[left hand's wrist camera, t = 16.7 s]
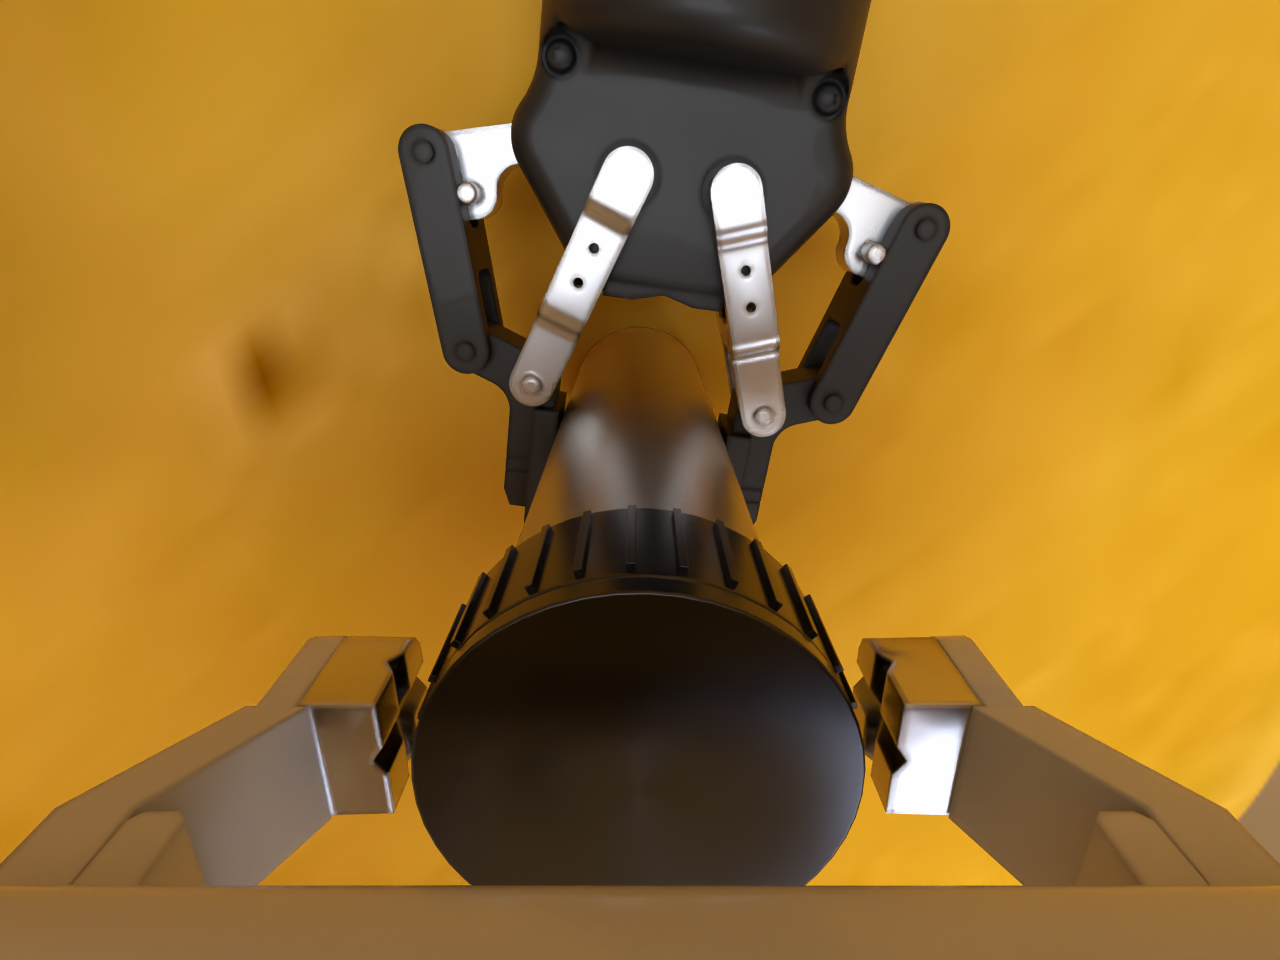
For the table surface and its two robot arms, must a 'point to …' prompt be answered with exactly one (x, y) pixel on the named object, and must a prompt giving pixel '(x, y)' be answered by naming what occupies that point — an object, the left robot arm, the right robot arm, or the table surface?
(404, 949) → the left robot arm
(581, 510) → the bottle
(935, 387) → the table surface
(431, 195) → the right robot arm
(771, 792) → the lid
